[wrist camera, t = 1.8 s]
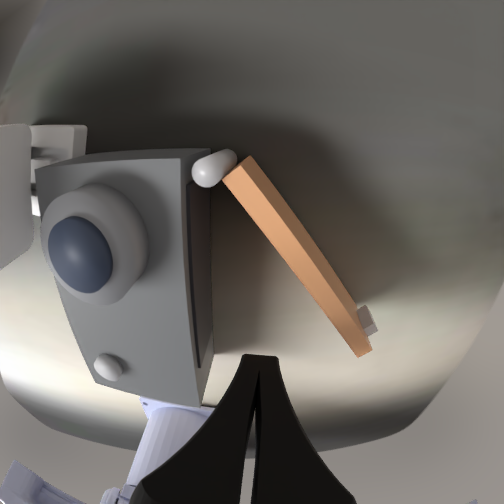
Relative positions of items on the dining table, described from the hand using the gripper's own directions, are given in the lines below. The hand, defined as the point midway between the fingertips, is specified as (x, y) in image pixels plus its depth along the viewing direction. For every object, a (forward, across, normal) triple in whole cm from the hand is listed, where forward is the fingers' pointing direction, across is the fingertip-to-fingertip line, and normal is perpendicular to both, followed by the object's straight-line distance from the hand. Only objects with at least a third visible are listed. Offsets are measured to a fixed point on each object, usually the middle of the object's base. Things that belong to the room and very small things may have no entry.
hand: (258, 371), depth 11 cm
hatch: (+5, -1, -4) cm, 7 cm away
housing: (+6, +6, -1) cm, 9 cm away
